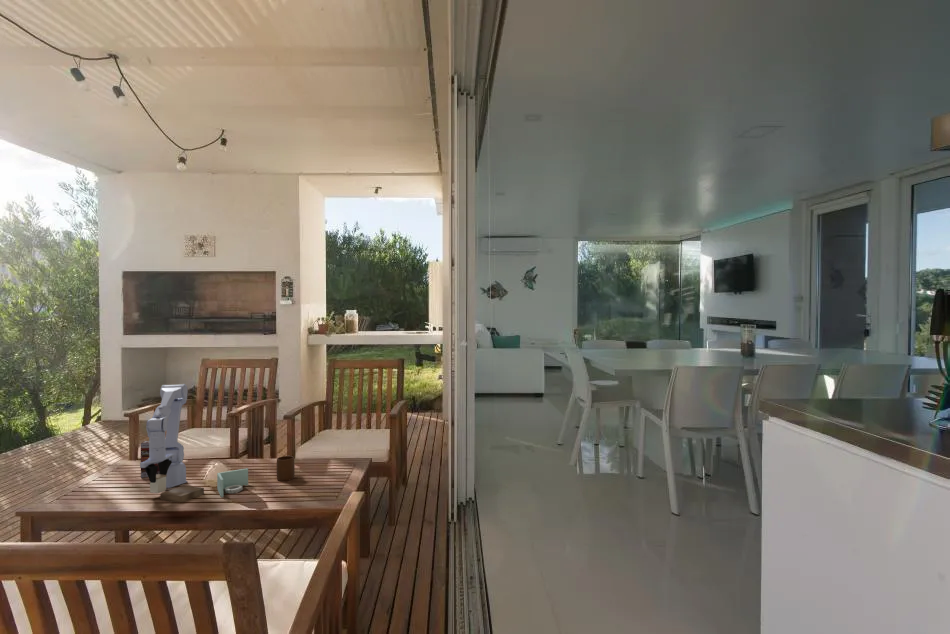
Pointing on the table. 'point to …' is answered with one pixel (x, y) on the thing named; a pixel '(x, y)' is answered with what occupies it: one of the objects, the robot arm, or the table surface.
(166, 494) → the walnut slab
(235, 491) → the l-shaped corner panel
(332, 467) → the table surface
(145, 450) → the supplement box
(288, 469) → the mug
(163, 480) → the beige rectangular block
